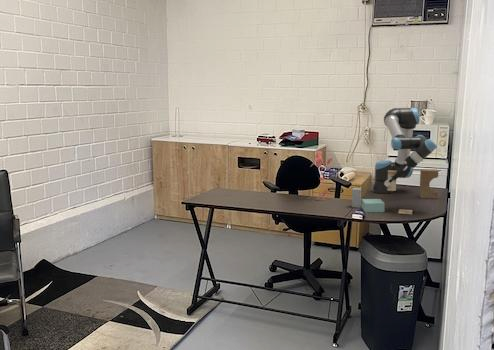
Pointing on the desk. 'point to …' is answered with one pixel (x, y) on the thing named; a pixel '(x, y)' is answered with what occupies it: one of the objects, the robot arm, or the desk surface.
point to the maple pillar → (393, 184)
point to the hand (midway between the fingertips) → (385, 184)
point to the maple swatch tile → (405, 211)
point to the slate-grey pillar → (356, 197)
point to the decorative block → (427, 183)
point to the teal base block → (373, 205)
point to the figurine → (318, 162)
